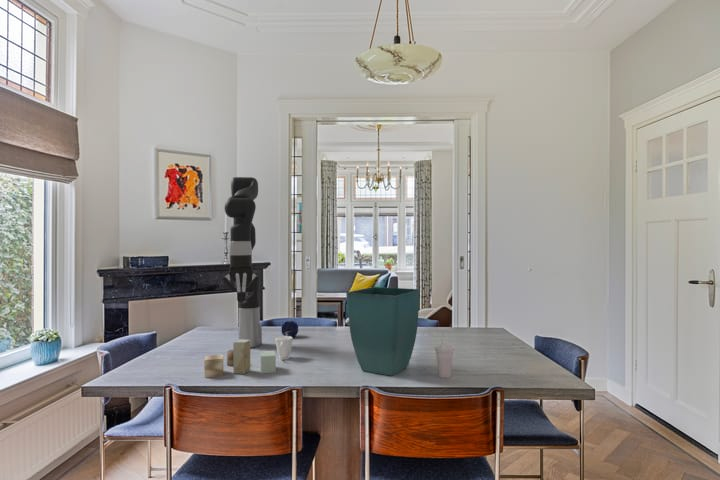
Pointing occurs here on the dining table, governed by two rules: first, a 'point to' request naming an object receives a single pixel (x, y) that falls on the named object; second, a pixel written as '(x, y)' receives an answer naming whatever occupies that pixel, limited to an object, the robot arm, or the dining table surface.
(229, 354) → the walnut cylinder
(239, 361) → the box
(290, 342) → the cup
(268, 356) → the sage block
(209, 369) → the beech cube
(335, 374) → the dining table surface
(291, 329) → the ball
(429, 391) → the dining table surface
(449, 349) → the smoothie
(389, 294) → the flower pot
